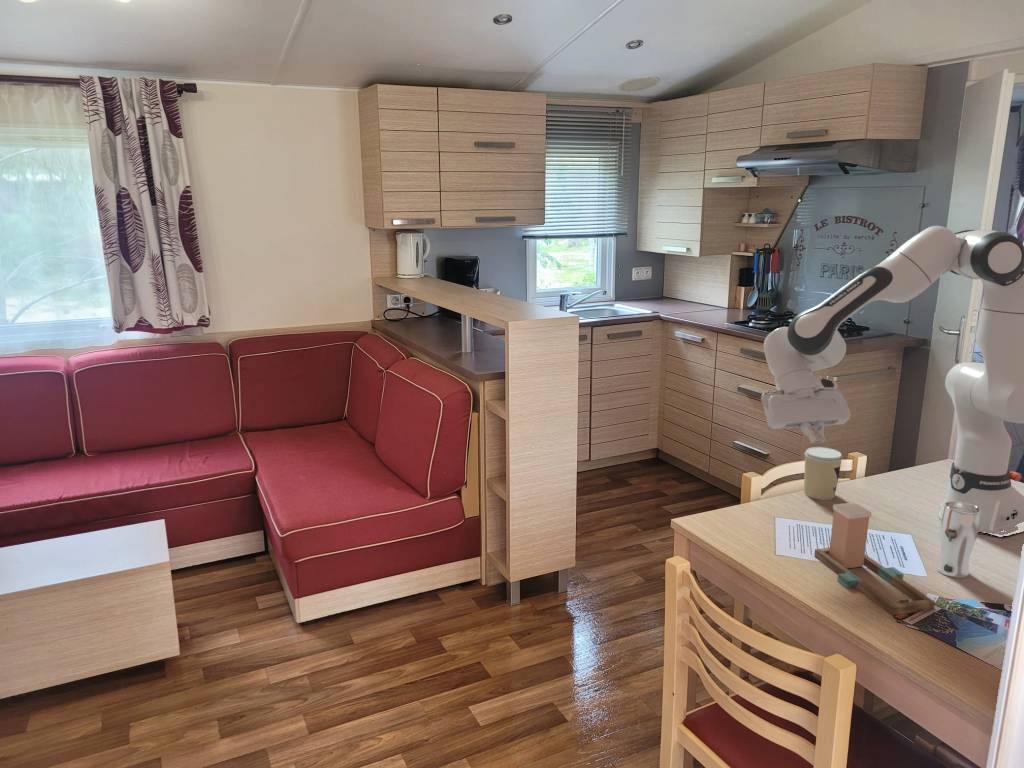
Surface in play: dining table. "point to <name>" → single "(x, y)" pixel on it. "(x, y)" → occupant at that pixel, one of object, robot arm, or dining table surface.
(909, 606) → the open rectangular frame
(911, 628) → the dining table surface
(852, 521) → the block
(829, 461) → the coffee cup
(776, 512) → the dining table surface
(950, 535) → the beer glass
